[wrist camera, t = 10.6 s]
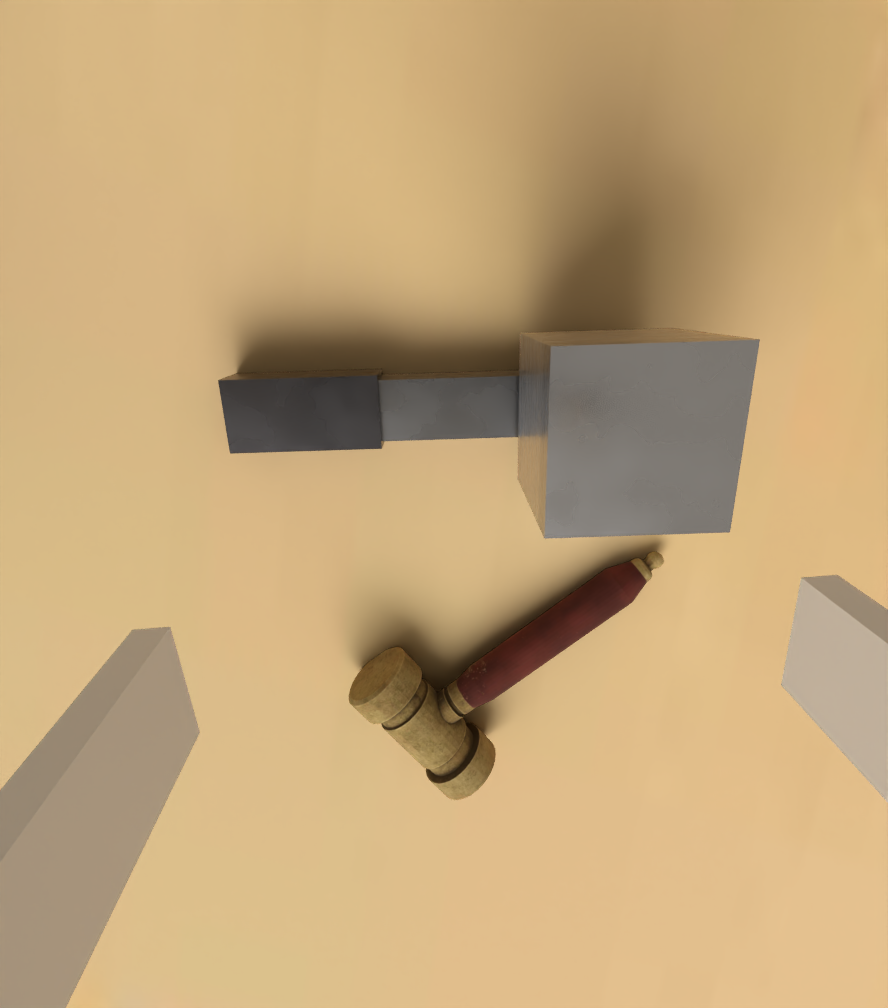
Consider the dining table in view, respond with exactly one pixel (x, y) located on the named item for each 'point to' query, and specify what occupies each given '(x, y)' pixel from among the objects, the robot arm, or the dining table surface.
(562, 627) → the gavel
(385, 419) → the ratchet
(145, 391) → the dining table surface
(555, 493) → the brushed metal cube
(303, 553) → the dining table surface
